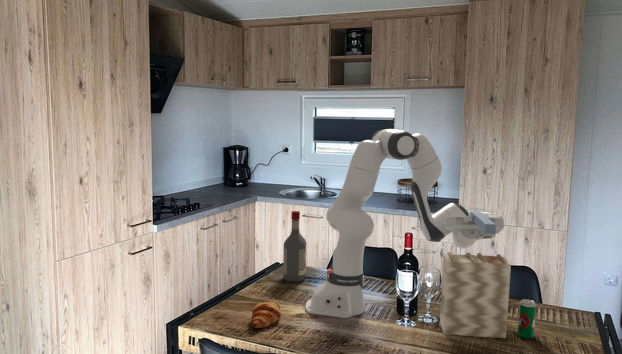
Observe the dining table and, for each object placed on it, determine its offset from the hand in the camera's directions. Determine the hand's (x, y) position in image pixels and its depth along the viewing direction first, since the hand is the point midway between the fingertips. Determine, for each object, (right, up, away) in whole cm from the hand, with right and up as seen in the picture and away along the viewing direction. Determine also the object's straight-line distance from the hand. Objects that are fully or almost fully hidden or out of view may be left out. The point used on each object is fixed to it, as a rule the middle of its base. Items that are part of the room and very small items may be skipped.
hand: (478, 216), depth 174 cm
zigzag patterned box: (-3, -38, -4) cm, 39 cm away
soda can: (+13, -39, -7) cm, 42 cm away
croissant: (-74, -37, +2) cm, 82 cm away
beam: (-1, -3, -5) cm, 6 cm away
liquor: (-65, -31, +48) cm, 87 cm away
